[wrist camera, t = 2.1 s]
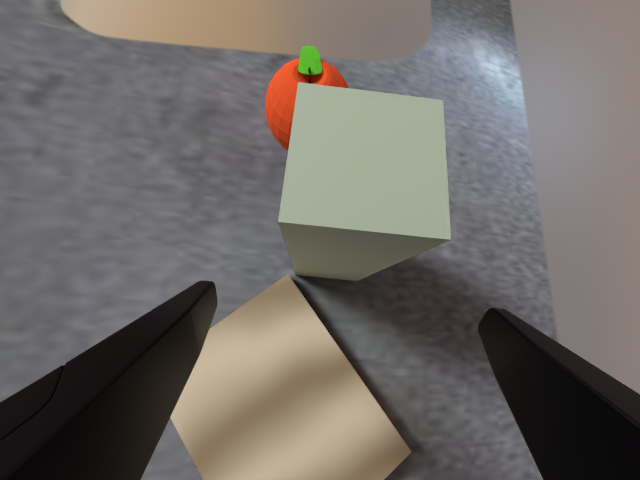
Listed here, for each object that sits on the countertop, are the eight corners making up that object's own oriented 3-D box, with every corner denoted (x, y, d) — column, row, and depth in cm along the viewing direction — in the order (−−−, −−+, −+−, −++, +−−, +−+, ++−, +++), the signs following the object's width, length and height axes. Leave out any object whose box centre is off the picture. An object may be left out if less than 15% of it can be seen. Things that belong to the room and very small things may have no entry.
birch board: (402, 439, 17) (411, 451, 15) (269, 569, 15) (265, 598, 13) (289, 276, 19) (287, 273, 18) (160, 367, 17) (146, 373, 16)
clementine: (271, 100, 24) (257, 16, 17) (341, 100, 24) (356, 19, 17) (270, 172, 22) (255, 111, 15) (347, 172, 22) (366, 112, 15)
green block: (357, 281, 19) (450, 239, 7) (295, 275, 19) (278, 221, 7) (359, 223, 21) (443, 100, 8) (302, 217, 21) (298, 82, 8)
